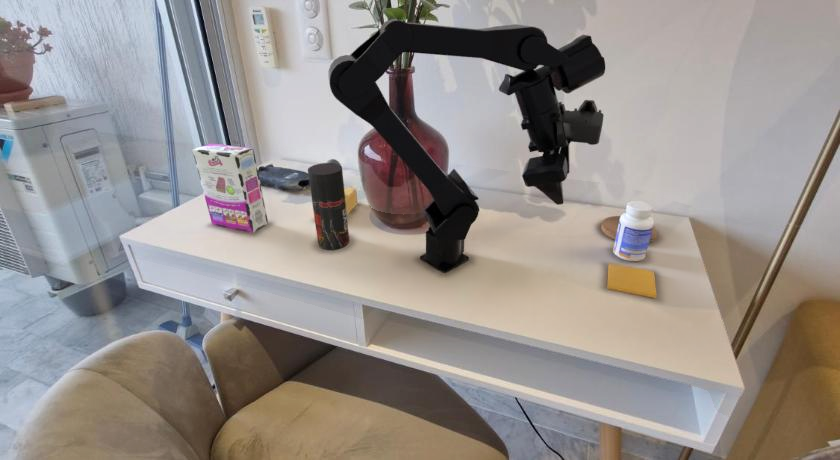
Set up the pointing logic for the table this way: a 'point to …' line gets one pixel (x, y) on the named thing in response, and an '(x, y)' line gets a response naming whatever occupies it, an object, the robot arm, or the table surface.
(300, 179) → the electronic device
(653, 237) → the cork trivet
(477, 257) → the table surface
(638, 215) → the pill bottle
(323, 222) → the deodorant
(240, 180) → the candy bar box
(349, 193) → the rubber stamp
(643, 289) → the mustard cloth
